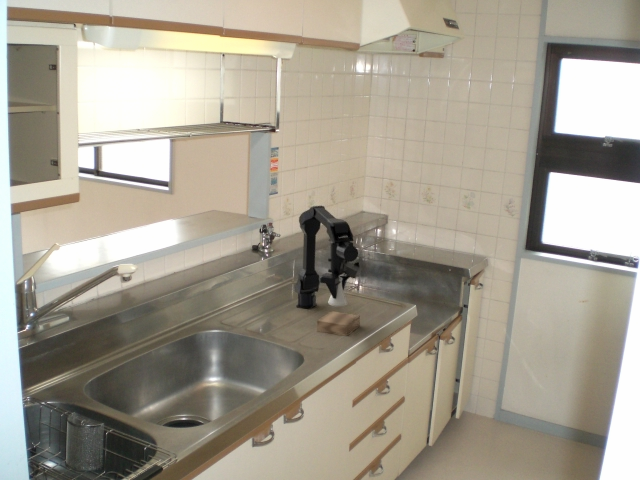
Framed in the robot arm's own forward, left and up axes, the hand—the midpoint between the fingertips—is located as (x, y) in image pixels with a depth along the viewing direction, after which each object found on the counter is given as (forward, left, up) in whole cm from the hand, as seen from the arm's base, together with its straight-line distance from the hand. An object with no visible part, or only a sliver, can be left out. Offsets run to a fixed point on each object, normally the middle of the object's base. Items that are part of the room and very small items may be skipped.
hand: (337, 296), depth 257 cm
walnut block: (0, 0, -12) cm, 13 cm away
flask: (0, 0, -3) cm, 3 cm away
